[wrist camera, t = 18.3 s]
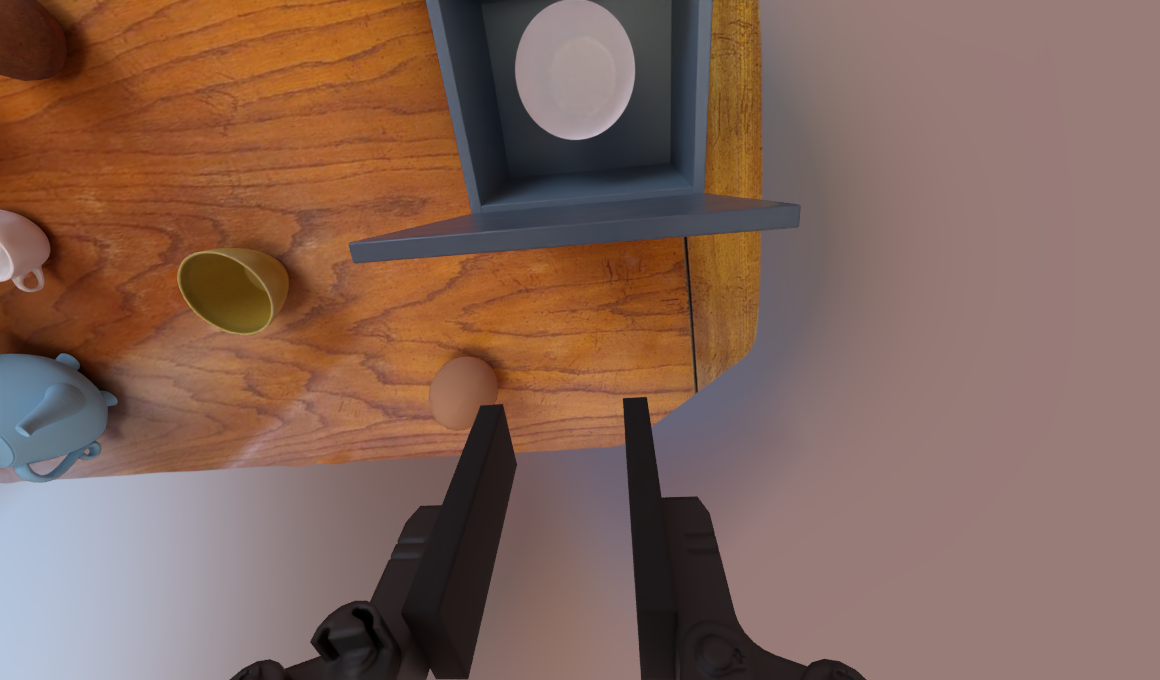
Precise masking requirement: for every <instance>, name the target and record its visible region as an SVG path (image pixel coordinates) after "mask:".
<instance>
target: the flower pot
mask: <svg viewBox="0 0 1160 680" xmlns="http://www.w3.org/2000/svg"><path fill="white" fill-rule="evenodd" d="M178 285H179V288H180V291H181V293H182V295H183V297H184V299H185V300H186V302H187V303H188V305H189V306H190V307H191V308H192V310H193V311H194V312H195V313H196V314H197V315H198V316H200V317H201V318H202V319H203V320H205V321H206V322H207V323H209V324H211V325H212V326H214V327H216V328H218V329H220V330H223V331H225V332H228V333H232V334H237V335H251V334H256V333H259V332H261V331H263V330H264V329H265V328H267V327H268V326H269V325H270V323H271V322H272V321H273V320H274V319H275V318H276V316H277V315H278V313H279V312H280V310H281V308H282V307H283V305H284V302H285V300H286V297H287V293H288V288H289V277H288V273H287V271H286V269H285V267H284V266H283V265H282V263H281V262H280V261H278V260H277V259H276V258H274V257H272V256H270V255H268V254H265V253H262V252H259V251H255V250H249V249H242V248H220V249H211V250H206V251H201V252H197V253H194V254H191V255H189V256H188V257H186V258H185V259H184V260H183V261H182V263H181V264H180V267H179V270H178Z"/></svg>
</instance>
